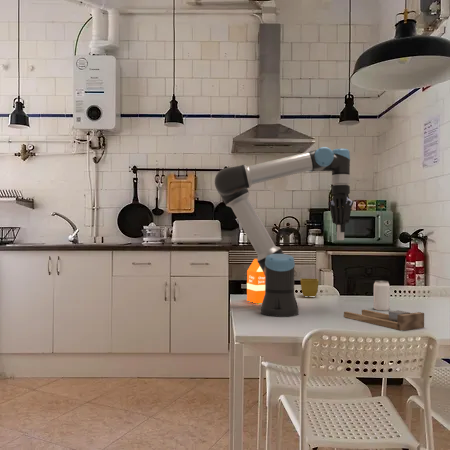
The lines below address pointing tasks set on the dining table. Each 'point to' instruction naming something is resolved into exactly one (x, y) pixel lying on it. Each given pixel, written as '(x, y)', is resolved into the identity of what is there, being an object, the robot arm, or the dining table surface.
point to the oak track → (382, 319)
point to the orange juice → (255, 283)
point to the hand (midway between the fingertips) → (340, 239)
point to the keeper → (395, 315)
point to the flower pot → (309, 286)
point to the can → (381, 295)
